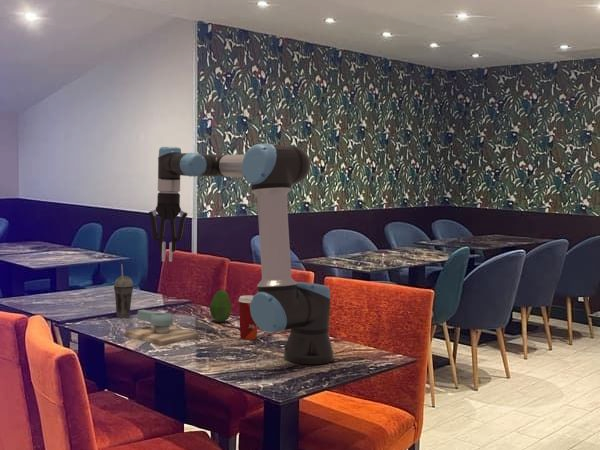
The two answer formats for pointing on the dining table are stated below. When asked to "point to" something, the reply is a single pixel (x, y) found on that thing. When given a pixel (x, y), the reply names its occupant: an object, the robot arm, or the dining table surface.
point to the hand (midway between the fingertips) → (167, 260)
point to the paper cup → (246, 319)
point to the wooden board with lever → (161, 334)
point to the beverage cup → (123, 295)
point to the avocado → (220, 306)
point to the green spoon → (156, 318)
